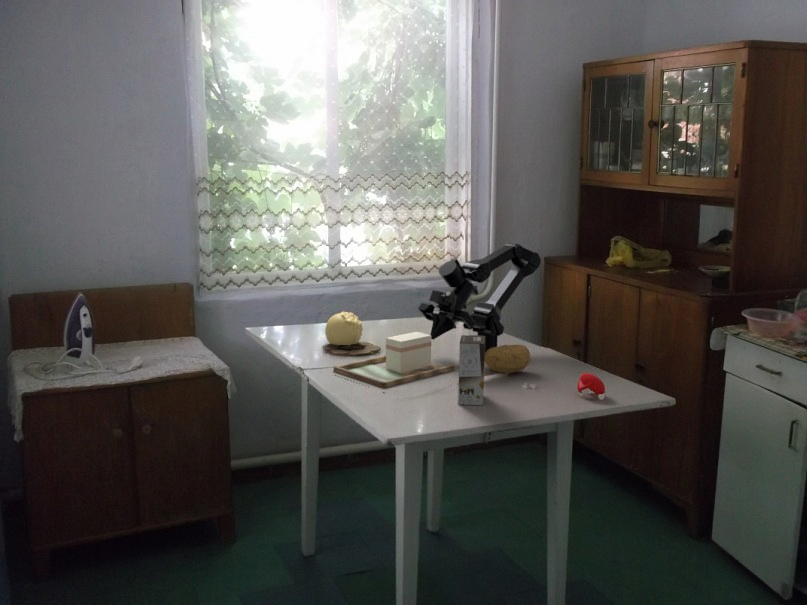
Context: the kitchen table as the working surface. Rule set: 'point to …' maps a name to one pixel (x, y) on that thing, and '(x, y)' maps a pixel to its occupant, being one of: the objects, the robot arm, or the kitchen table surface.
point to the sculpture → (343, 329)
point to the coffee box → (471, 370)
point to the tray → (385, 372)
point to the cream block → (408, 352)
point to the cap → (590, 384)
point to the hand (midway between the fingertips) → (431, 338)
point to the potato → (507, 358)
